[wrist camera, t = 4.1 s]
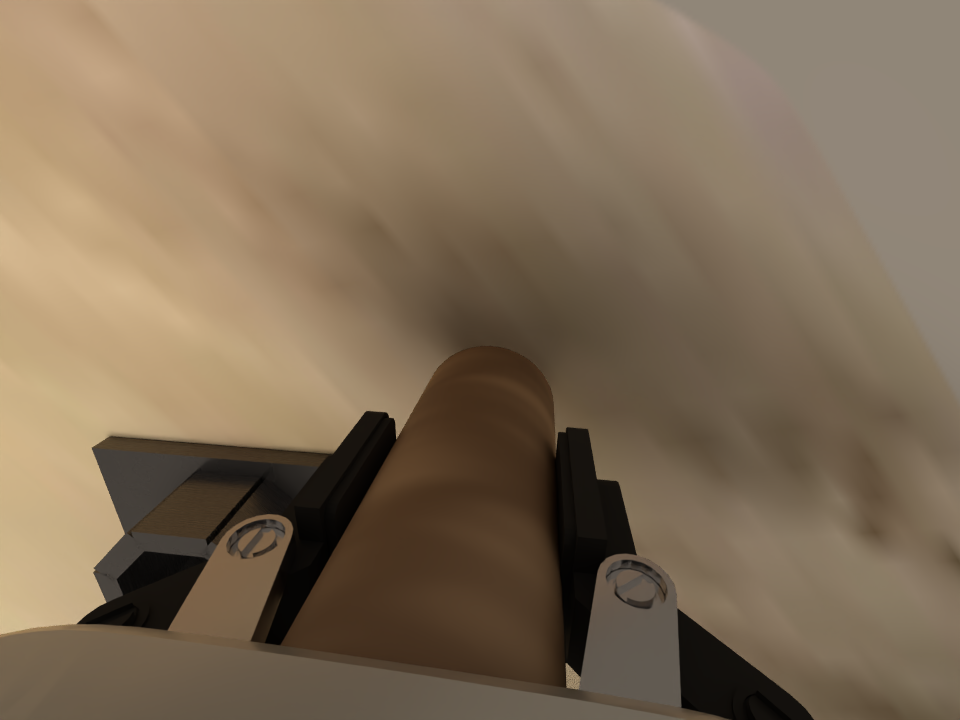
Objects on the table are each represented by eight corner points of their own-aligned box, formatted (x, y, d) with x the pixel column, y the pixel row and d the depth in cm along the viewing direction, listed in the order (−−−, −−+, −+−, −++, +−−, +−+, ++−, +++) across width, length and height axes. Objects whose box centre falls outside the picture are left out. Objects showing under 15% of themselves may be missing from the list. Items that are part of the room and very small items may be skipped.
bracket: (393, 640, 27) (320, 887, 18) (174, 614, 28) (-1, 830, 19) (377, 458, 21) (261, 673, 12) (109, 436, 23) (-174, 616, 14)
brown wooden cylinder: (558, 350, 14) (691, 1804, 2) (548, 465, 16) (569, 1629, 3) (424, 342, 15) (-332, 1375, 2) (428, 454, 17) (22, 1420, 4)
